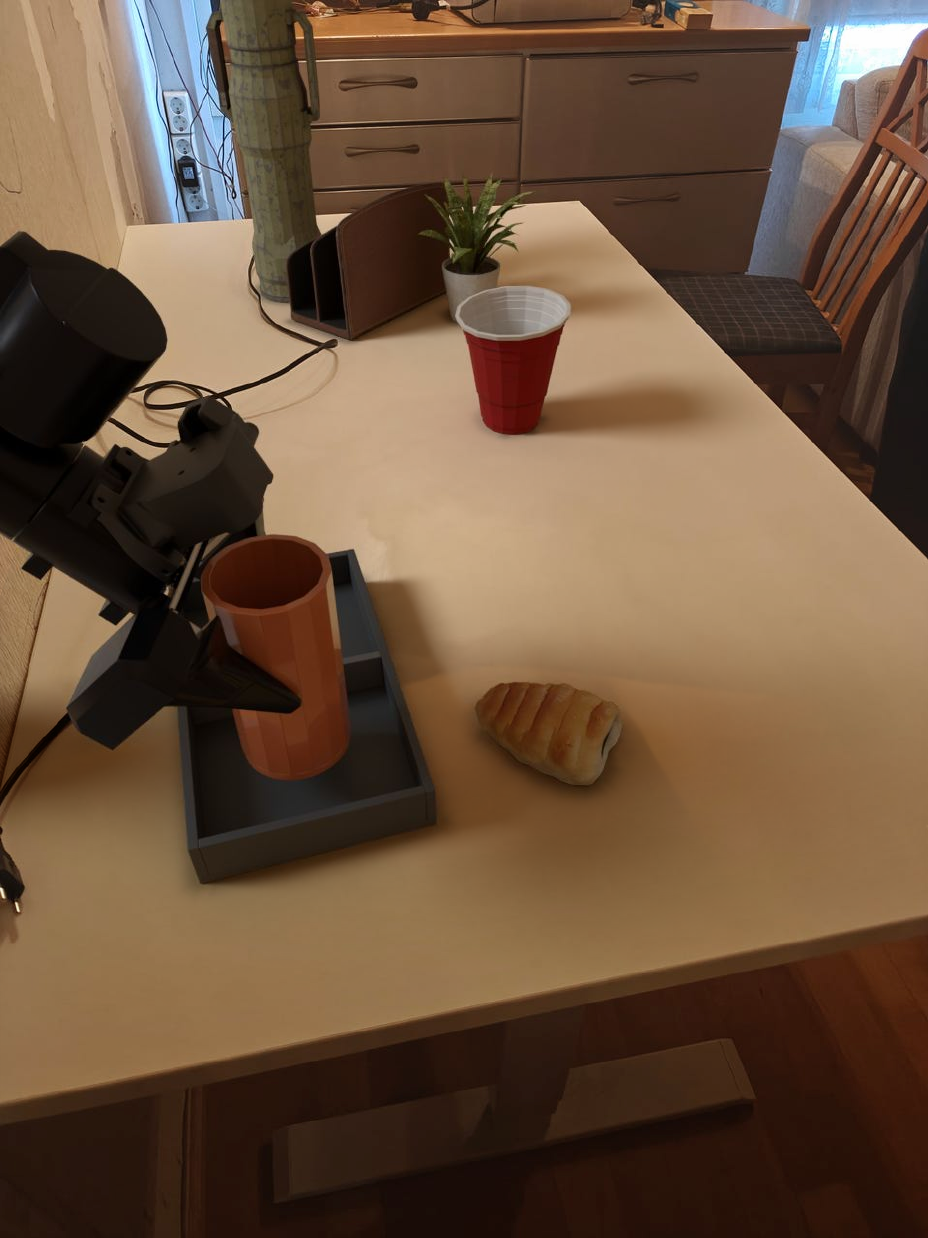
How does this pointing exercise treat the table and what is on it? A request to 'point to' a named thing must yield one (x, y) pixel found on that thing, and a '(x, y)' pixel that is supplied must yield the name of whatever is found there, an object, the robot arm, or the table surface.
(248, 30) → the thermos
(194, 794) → the tray
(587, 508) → the table surface
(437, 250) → the letter holder
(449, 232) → the house plant
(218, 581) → the cup
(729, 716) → the table surface
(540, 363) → the plastic cup
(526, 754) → the pastry
